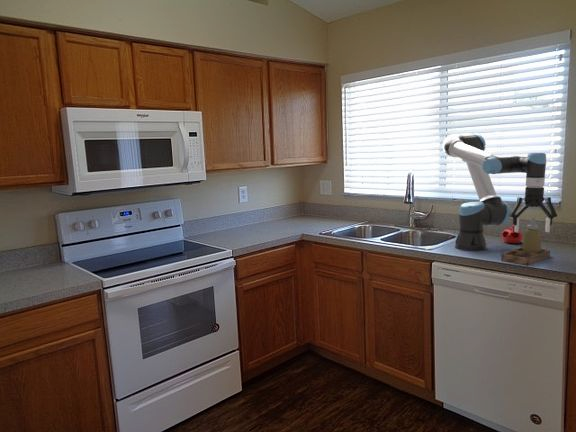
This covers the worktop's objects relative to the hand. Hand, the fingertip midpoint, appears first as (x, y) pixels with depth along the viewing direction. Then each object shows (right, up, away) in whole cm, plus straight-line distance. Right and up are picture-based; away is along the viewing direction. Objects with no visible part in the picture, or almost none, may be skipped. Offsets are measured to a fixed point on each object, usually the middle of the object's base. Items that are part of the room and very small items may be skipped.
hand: (531, 231), depth 206 cm
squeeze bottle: (0, -11, +1) cm, 11 cm away
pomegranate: (+7, -7, +31) cm, 33 cm away
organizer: (-4, -12, -2) cm, 13 cm away
